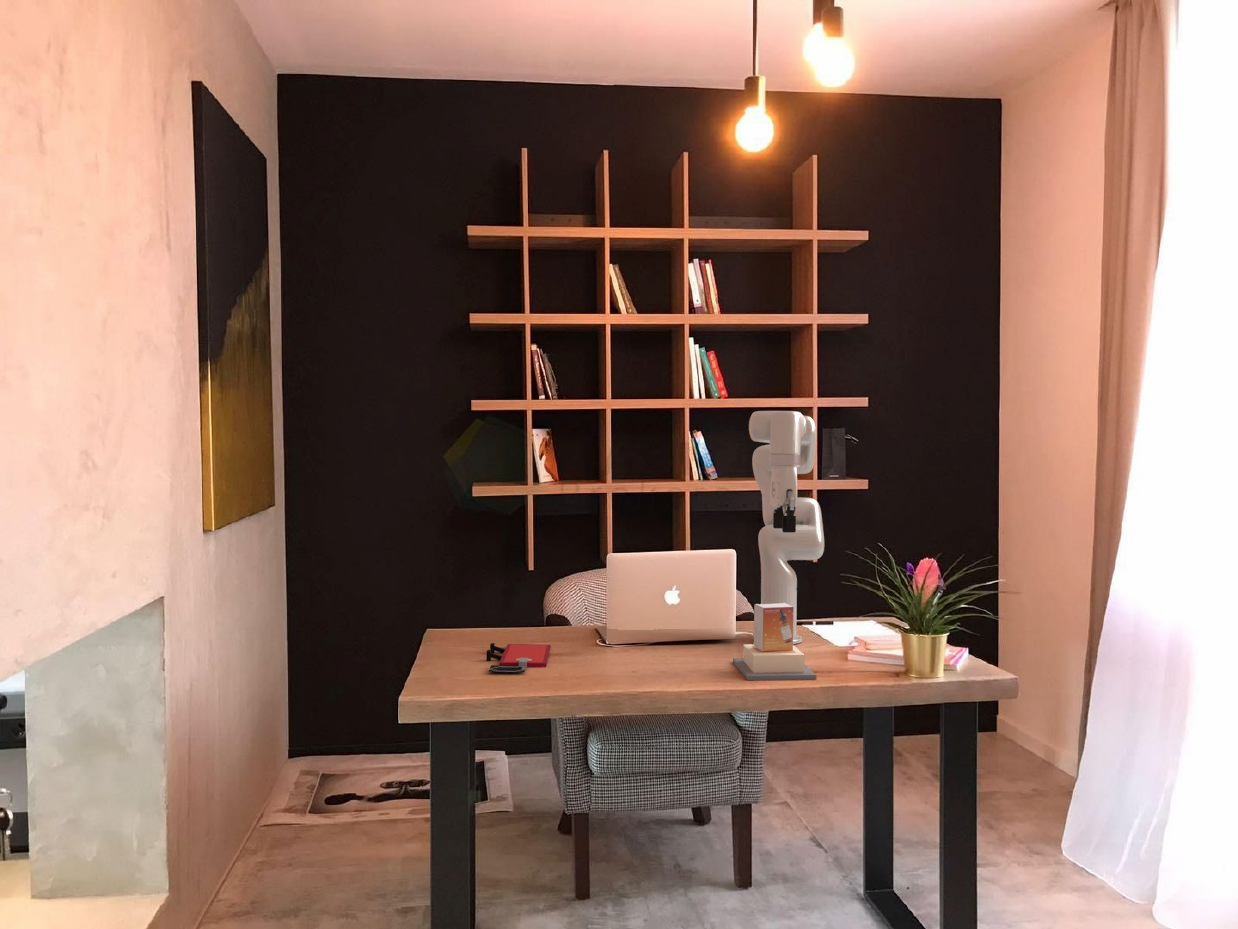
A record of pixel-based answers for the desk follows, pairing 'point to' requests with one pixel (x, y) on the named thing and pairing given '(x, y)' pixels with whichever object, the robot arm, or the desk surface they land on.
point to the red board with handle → (518, 657)
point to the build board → (772, 675)
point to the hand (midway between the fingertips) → (784, 530)
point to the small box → (773, 627)
